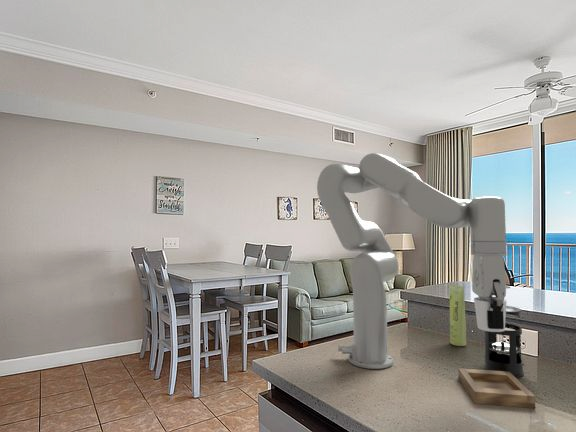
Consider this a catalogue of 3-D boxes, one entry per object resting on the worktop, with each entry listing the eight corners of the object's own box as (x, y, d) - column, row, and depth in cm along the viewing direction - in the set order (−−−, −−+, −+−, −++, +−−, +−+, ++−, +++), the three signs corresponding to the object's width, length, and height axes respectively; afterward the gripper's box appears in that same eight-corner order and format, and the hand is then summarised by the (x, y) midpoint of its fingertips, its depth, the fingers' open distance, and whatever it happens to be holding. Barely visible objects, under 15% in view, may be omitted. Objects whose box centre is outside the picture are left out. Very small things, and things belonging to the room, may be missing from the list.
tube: (446, 344, 124) (445, 285, 124) (450, 340, 128) (449, 283, 128) (464, 347, 120) (463, 286, 121) (468, 343, 124) (467, 285, 125)
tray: (474, 403, 82) (474, 391, 82) (458, 378, 96) (458, 368, 96) (535, 408, 80) (535, 396, 80) (509, 381, 93) (509, 371, 94)
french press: (534, 378, 95) (531, 288, 96) (498, 379, 95) (496, 288, 96) (505, 362, 107) (504, 281, 108) (473, 362, 107) (472, 282, 108)
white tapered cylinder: (493, 333, 83) (492, 302, 84) (468, 327, 90) (467, 297, 90) (514, 330, 86) (513, 300, 86) (488, 324, 92) (487, 295, 93)
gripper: (462, 247, 98) (464, 316, 97) (482, 250, 81) (485, 334, 80) (493, 247, 97) (495, 317, 96) (520, 250, 80) (523, 335, 79)
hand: (490, 324), depth 88 cm, fingers closed on white tapered cylinder, 6 cm apart
